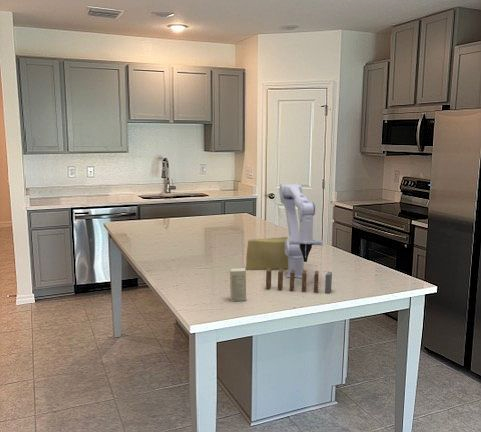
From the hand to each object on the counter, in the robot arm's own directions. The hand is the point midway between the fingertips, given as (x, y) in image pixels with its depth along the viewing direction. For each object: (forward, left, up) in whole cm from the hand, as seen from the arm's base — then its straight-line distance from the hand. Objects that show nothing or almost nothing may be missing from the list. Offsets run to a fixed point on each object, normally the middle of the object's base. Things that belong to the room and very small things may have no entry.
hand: (305, 261), depth 209 cm
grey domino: (+8, +10, -10) cm, 17 cm away
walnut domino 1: (+8, -15, -10) cm, 20 cm away
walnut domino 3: (+8, -5, -10) cm, 14 cm away
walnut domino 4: (+8, 0, -10) cm, 13 cm away
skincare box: (+25, -25, -11) cm, 37 cm away
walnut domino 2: (+8, -10, -10) cm, 16 cm away
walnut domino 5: (+8, +5, -10) cm, 14 cm away
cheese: (-22, -19, -11) cm, 31 cm away
